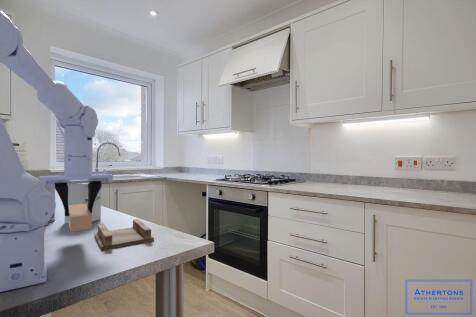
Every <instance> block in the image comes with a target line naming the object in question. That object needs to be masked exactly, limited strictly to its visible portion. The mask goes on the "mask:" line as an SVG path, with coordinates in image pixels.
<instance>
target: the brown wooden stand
mask: <svg viewBox="0 0 476 317" xmlns="http://www.w3.org/2000/svg"><path fill="white" fill-rule="evenodd" d="M93 234H94V235H93V236H94V238H95V240H96V242H97V244H98V246H99V249H100V251H103V250H104V251H105V250H110V249H115V248H121V247H126V246H132V245H138V244H143V243H148V242H153V241H155V237H154V236H153V235H152V229H151V228H150V227H149V226H147V224H146V223H144V222H143V221H141V220H140V219H139V218H137V219H132V227H127V228H120V229H111V230H109V229H108V227H107V225H105V223H99V224H97V232H94V233H93Z"/></svg>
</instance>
